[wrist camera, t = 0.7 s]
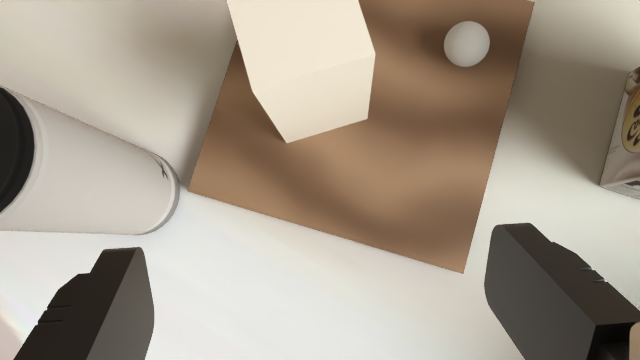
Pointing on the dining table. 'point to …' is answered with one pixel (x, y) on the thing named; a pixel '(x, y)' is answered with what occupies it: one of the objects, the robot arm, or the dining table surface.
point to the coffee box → (625, 144)
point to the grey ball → (466, 44)
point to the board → (381, 137)
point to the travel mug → (76, 175)
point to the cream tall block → (306, 62)
